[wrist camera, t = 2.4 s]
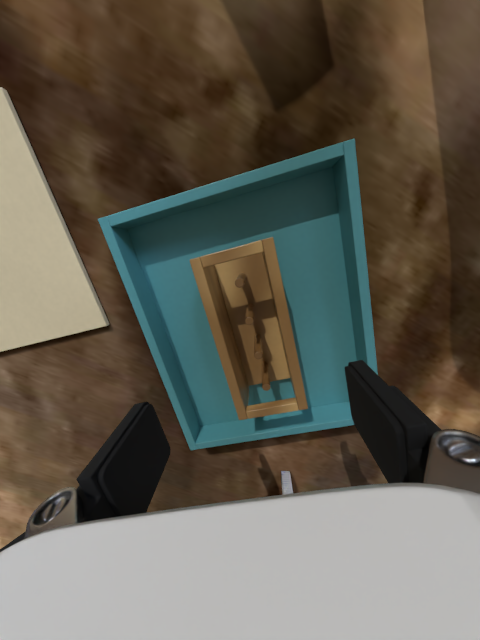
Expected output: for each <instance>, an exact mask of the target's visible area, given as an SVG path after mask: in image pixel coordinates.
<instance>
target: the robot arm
mask: <svg viewBox="0 0 480 640" xmlns="http://www.w3.org/2000/svg"><path fill="white" fill-rule="evenodd" d="M345 375H346V382H347V389H348V395H349V402H350V409H351V416H352V420H353V422H354V425H355V426H356V428H357V430H358V431H359V433H360V435H361V437H362V438H363V440H364V442H365V443H366V445H367V447H368V449H369V450H370V452H371V454H372V455H373V457H374V459H375V461H376V462H377V464H378V466H379V467H380V469H381V471H382V473H383V474H384V476H385V478H386V480H387V481H388V483H387V484H372V485H362V486H352V487H343V488H334V489H325V490H317V491H309V492H301V493H293V494H285V495H277V496H269V497H261V498H253V499H245V500H237V501H230V502H222V503H214V504H207V505H199V506H192V507H184V508H177V509H170V510H162V511H155V512H148V513H146V511H147V509H148V506H149V504H150V501H151V499H152V497H153V494H154V492H155V489H156V487H157V485H158V482H159V480H160V477H161V475H162V472H163V470H164V468H165V465H166V463H167V460H168V458H169V455H170V446H169V443H168V441H167V439H166V436H165V434H164V431H163V429H162V427H161V424H160V422H159V419H158V417H157V415H156V412H155V410H154V407H153V405H151V404H149V403H148V402H144V403H139V404H135V405H134V406H133V407H132V408H131V410H130V411H129V412H128V414H127V415H126V416H125V417H124V419H123V420H122V421H121V423H120V424H119V425H118V426H117V428H116V429H115V430H114V432H113V433H112V434H111V435H110V437H109V438H108V439H107V441H106V442H105V443H104V444H103V446H102V447H101V448H100V450H99V451H98V452H97V453H96V455H95V456H94V457H93V459H92V460H91V461H90V462H89V464H88V465H87V466H86V468H85V469H84V470H83V471H82V473H81V474H80V475H79V477H78V478H77V481H78V483H79V485H80V486H79V487H78V488H77V490H76V489H75V488H74V487H67V488H64V489H61V490H59V491H57V492H55V493H54V494H52V495H51V496H50V497H48V498H47V499H46V500H45V501H43V502H42V503H41V504H40V505H39V506H38V507H37V509H36V510H35V511H34V512H33V514H32V515H31V517H30V518H29V521H28V523H27V528H26V532H24V533H23V534H22V535H20V536H19V537H17V538H16V539H14V540H13V541H12V542H10V543H9V544H7V545H6V546H5V547H3V548H2V549H0V640H480V437H479V436H477V435H475V434H472V433H469V432H466V431H462V430H456V429H445V430H441V429H440V428H439V427H438V426H437V425H436V424H435V423H433V422H432V421H431V420H430V419H429V418H428V417H427V416H426V415H425V414H424V413H423V412H422V411H421V410H420V409H419V408H418V407H417V406H416V405H415V404H414V403H412V402H411V401H410V400H409V399H408V398H407V397H406V396H405V395H404V394H403V393H402V392H401V391H400V390H399V389H398V388H396V387H395V386H388V385H387V384H386V383H385V382H384V381H383V380H382V379H381V378H380V377H379V376H378V375H377V374H376V373H375V372H374V371H373V370H372V369H371V368H370V367H369V366H368V365H367V364H366V363H365V362H364V361H363V360H358V361H353V362H349V363H348V366H345Z"/></svg>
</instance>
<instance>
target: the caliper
mask: <svg viewBox="0 0 480 640" xmlns="http://www.w3.org/2000/svg"><path fill="white" fill-rule="evenodd" d="M281 475H282V478H281V483H282V494H283V495H285V494H293V489H292V483H291V476H290V471H281Z"/></svg>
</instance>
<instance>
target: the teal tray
mask: <svg viewBox="0 0 480 640" xmlns="http://www.w3.org/2000/svg"><path fill="white" fill-rule="evenodd" d="M98 221H99V223H100V226H101V228H102V231H103V233H104V236H105V238H106V241H107V243H108V246H109V248H110V251H111V253H112V256H113V258H114V261H115V263H116V266H117V268H118V271H119V273H120V276H121V278H122V281H123V283H124V286H125V288H126V291H127V293H128V296H129V298H130V301H131V303H132V306H133V308H134V311H135V313H136V316H137V318H138V321H139V323H140V326H141V328H142V331H143V333H144V336H145V338H146V341H147V343H148V346H149V348H150V351H151V353H152V356H153V358H154V361H155V363H156V366H157V368H158V371H159V373H160V376H161V378H162V381H163V383H164V386H165V388H166V391H167V393H168V396H169V398H170V401H171V403H172V406H173V408H174V411H175V413H176V415H177V418H178V420H179V423H180V425H181V428H182V430H183V433H184V435H185V438H186V440H187V443H188V445H189V448H190V450H196V449H203V448H209V447H215V446H222V445H228V444H235V443H241V442H248V441H254V440H261V439H267V438H273V437H280V436H286V435H293V434H299V433H306V432H312V431H318V430H325V429H331V428H338V427H344V426H351V425H354V422H353V420H352V416H351V409H350V402H349V395H348V389H347V382H346V375H345V366H348V363H349V362H353V361H358V360H363V361H364V362H365V363H366V364H367V365H368V366H369V367H370V368H371V369H372V370H373V371H374V372H375V373H376V374H377V375H378V372H377V362H376V352H375V342H374V331H373V321H372V311H371V301H370V291H369V280H368V270H367V260H366V250H365V240H364V229H363V219H362V209H361V199H360V188H359V178H358V168H357V158H356V148H355V139H351V140H348V141H345V142H343V143H342V142H341V143H338V144H335V145H332V146H328V147H325V148H322V149H319V150H316V151H313V152H309V153H306V154H303V155H300V156H297V157H294V158H290V159H287V160H284V161H281V162H278V163H275V164H271V165H268V166H265V167H262V168H259V169H255V170H252V171H249V172H246V173H243V174H240V175H236V176H233V177H230V178H227V179H224V180H221V181H217V182H214V183H211V184H208V185H205V186H201V187H198V188H195V189H192V190H189V191H186V192H182V193H179V194H176V195H173V196H170V197H167V198H163V199H160V200H157V201H154V202H151V203H147V204H144V205H141V206H138V207H135V208H132V209H128V210H125V211H122V212H119V213H116V214H113V215H109V216H106V217H103V218H100V219H98ZM270 237H273V238H274V243H275V248H276V253H277V258H278V263H279V268H280V273H281V278H282V283H283V287H284V292H285V297H286V302H287V307H288V312H289V317H290V322H291V327H292V331H293V336H294V341H295V346H296V351H297V356H298V361H299V366H300V371H301V376H302V380H303V385H304V390H305V395H306V400H307V405H308V409H305V410H298V411H292V412H286V413H280V414H274V415H268V416H263V417H257V418H251V419H245V420H239V418H238V415H237V412H236V409H235V406H234V402H233V399H232V396H231V393H230V389H229V386H228V383H227V380H226V377H225V373H224V370H223V367H222V364H221V360H220V357H219V354H218V351H217V348H216V344H215V341H214V338H213V335H212V332H211V328H210V325H209V322H208V319H207V315H206V312H205V309H204V306H203V303H202V299H201V296H200V293H199V290H198V286H197V283H196V280H195V277H194V274H193V270H192V267H191V264H190V259H193V258H197V257H201V256H204V255H208V254H212V253H215V252H219V251H223V250H226V249H230V248H234V247H237V246H241V245H245V244H248V243H252V242H256V241H259V240H263V239H267V238H270ZM270 387H271V388H270V390H268V391H265V390H263V388H262V383H261V384H256V385H250V386H249V400H248V406H249V405H255V404H260V403H266V402H272V401H277V400H283V399H289V398H294V397H295V394H294V391H293V387H292V383H291V380H290V378H288V379H282V380H277V381H272V382H270Z"/></svg>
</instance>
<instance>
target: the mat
mask: <svg viewBox="0 0 480 640" xmlns="http://www.w3.org/2000/svg"><path fill="white" fill-rule="evenodd" d="M108 325H109V322H108V319H107V317H106V315H105V313H104V310H103V308H102V306H101V303H100V301H99V299H98V297H97V294H96V292H95V290H94V288H93V285H92V283H91V281H90V278H89V276H88V274H87V272H86V269H85V267H84V265H83V263H82V260H81V258H80V256H79V253H78V251H77V249H76V247H75V244H74V242H73V240H72V238H71V235H70V233H69V231H68V228H67V226H66V224H65V222H64V219H63V217H62V215H61V213H60V210H59V208H58V206H57V203H56V201H55V199H54V197H53V194H52V192H51V190H50V188H49V185H48V183H47V181H46V179H45V176H44V174H43V172H42V169H41V167H40V165H39V163H38V160H37V158H36V156H35V154H34V151H33V149H32V147H31V144H30V142H29V140H28V138H27V135H26V133H25V131H24V129H23V126H22V124H21V122H20V119H19V117H18V115H17V113H16V110H15V108H14V106H13V104H12V101H11V99H10V97H9V94H8V92H7V91H6V90H5V89H3V88H2V87H0V352H2V351H6V350H10V349H15V348H19V347H23V346H27V345H31V344H35V343H39V342H43V341H47V340H51V339H56V338H60V337H64V336H68V335H72V334H76V333H80V332H84V331H88V330H92V329H97V328H101V327H105V326H108Z"/></svg>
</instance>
